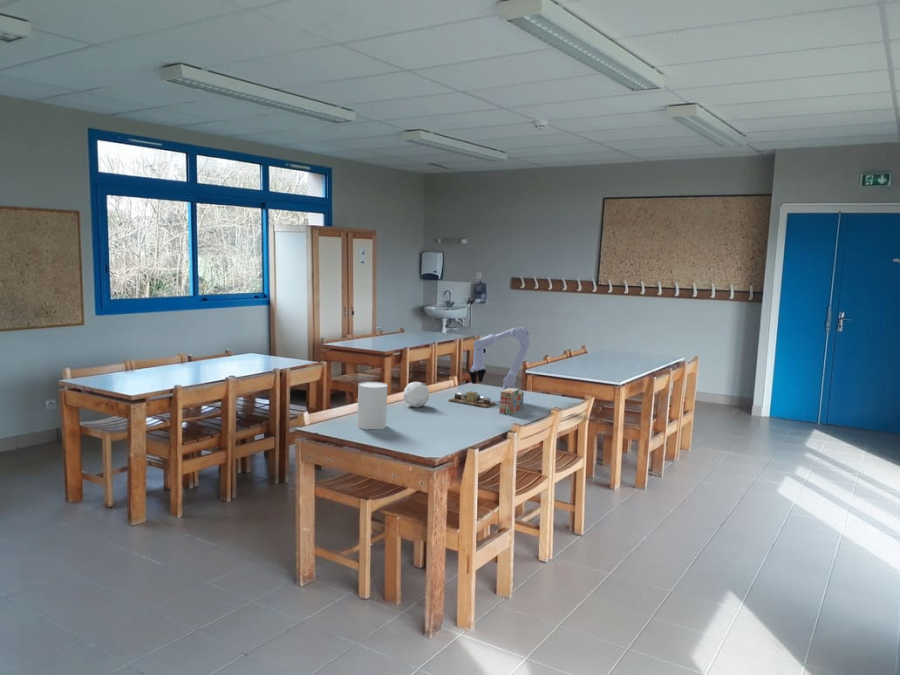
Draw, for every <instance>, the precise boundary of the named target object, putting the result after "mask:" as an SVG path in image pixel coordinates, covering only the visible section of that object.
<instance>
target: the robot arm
mask: <svg viewBox="0 0 900 675" xmlns="http://www.w3.org/2000/svg"><path fill="white" fill-rule="evenodd" d="M508 337H512V338H516V339H517V340H518V342H519V344H520V346H519V349H518V352H517V354H516V356H515V358H514V360H513V362H512V364H511V366H510V369H509V371H508V373H507V375H505V377H504V378H503V380H502V383H503V385H502V391H503V390H505V389H507V388H515V389H519V391H520V388H518V387H516V384H515V383H516V382H517V375H518V372H519V370H520V368H521V366H522V363H523V361H524V360H525V358H526V354H527V353H528V351H529V349H530V347H531V341H530V340H531V339H530V333H529V332H528V329H527V328H526V327H524V326H518V327H514V328H510V329H507V330H504V331H503V332H501V333H498V334H493V333H489V334H487V335H486V336H483V337H482V336H481V337H480V338H479V339H478V338H477V339H476V340H474V342H473V358H472V359H473V360H472V361H473V362H472V363H473V364H472V366H471V368H470V369H469V371H468V374H469V375H470V379H471V384H472V385H473V384H474V385H476V383H477V381H478V382H479V383H482V382H483V379H484V376H485V375H486V372H487V369H486V365H484V353H485V352H484V349H485V348H487V347H489V346H492V345H495V344H497V342H498V341H499V340H502V339H505V338H508Z"/></svg>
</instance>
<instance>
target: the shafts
mask: <svg viewBox="0 0 900 675" xmlns="http://www.w3.org/2000/svg"><path fill="white" fill-rule="evenodd" d="M466 394H467V392H465V393H463V392H457V391H456V392H454V396H455V395H458V396H460V397H465V399H466ZM476 400H477V401H479V400H483V401H484V400H486V401H489V402H491V398H490V397H485V396H481V395H480V394H478V395H477V397H476Z"/></svg>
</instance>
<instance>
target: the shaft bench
mask: <svg viewBox="0 0 900 675" xmlns="http://www.w3.org/2000/svg"><path fill="white" fill-rule="evenodd" d="M448 402H450V403H456V404H462V405H466V406H467V405H468V406H473V407H479V408H485V409H487V408H490V407H492V406H496V402H494V401H490V402H489V401H486V400H484V401H483V400H479V401H476V402H469V401H466V399H465V397H460V396H458V395H455V394H454V397H453V398H450V399H448Z"/></svg>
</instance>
